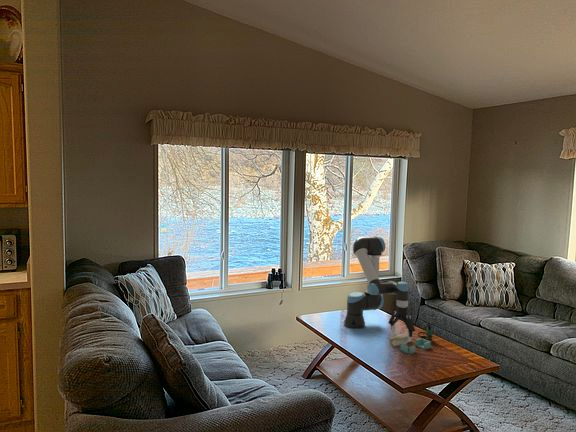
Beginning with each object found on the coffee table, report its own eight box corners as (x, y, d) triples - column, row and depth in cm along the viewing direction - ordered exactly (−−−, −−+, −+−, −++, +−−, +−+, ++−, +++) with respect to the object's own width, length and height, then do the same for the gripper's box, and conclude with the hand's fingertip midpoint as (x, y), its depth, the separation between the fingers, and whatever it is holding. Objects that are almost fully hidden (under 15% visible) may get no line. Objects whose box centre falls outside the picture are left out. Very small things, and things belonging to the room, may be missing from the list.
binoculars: (416, 323, 293) (432, 322, 291) (417, 338, 294) (433, 338, 292) (417, 327, 285) (433, 327, 283) (418, 343, 285) (434, 343, 283)
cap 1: (399, 350, 270) (399, 344, 270) (405, 348, 273) (405, 342, 273) (409, 354, 264) (409, 348, 263) (415, 352, 267) (415, 346, 266)
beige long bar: (389, 345, 279) (390, 337, 279) (405, 340, 289) (406, 332, 288) (394, 347, 276) (395, 339, 276) (410, 341, 286) (411, 334, 285)
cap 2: (430, 347, 275) (431, 341, 275) (425, 349, 272) (425, 343, 272) (421, 344, 281) (421, 338, 281) (415, 345, 278) (415, 339, 278)
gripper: (383, 302, 289) (382, 333, 290) (413, 311, 268) (412, 345, 269) (391, 301, 293) (390, 331, 294) (421, 309, 272) (420, 343, 274)
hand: (401, 338), depth 282 cm, fingers open, 13 cm apart
